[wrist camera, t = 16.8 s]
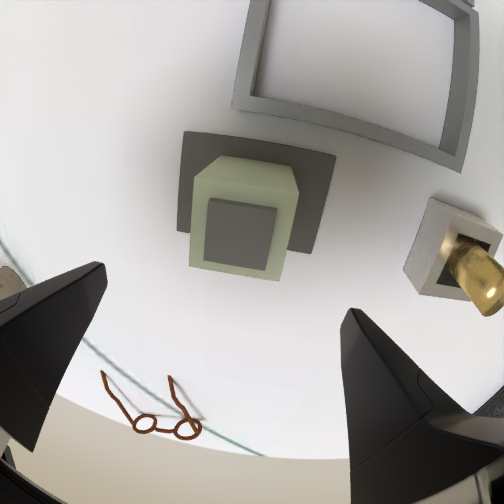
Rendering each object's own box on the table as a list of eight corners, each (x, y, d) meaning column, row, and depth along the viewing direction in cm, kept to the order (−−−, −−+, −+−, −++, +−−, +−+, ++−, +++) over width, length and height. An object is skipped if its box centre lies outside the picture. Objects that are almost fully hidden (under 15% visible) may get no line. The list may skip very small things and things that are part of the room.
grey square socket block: (480, 217, 19) (503, 234, 16) (453, 279, 22) (470, 301, 19) (430, 197, 19) (453, 214, 15) (402, 269, 22) (418, 294, 19)
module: (291, 166, 19) (300, 197, 12) (278, 229, 21) (279, 287, 14) (221, 155, 19) (190, 180, 12) (214, 218, 21) (186, 272, 14)
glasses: (140, 412, 41) (132, 433, 36) (101, 368, 35) (88, 392, 30) (205, 418, 38) (199, 443, 34) (172, 372, 33) (162, 403, 28)
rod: (463, 221, 19) (518, 269, 12) (461, 255, 20) (507, 307, 13) (433, 230, 19) (486, 284, 12) (432, 265, 21) (476, 322, 14)
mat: (335, 156, 18) (336, 156, 18) (310, 252, 22) (310, 254, 22) (185, 131, 18) (183, 131, 18) (177, 229, 22) (176, 230, 22)
